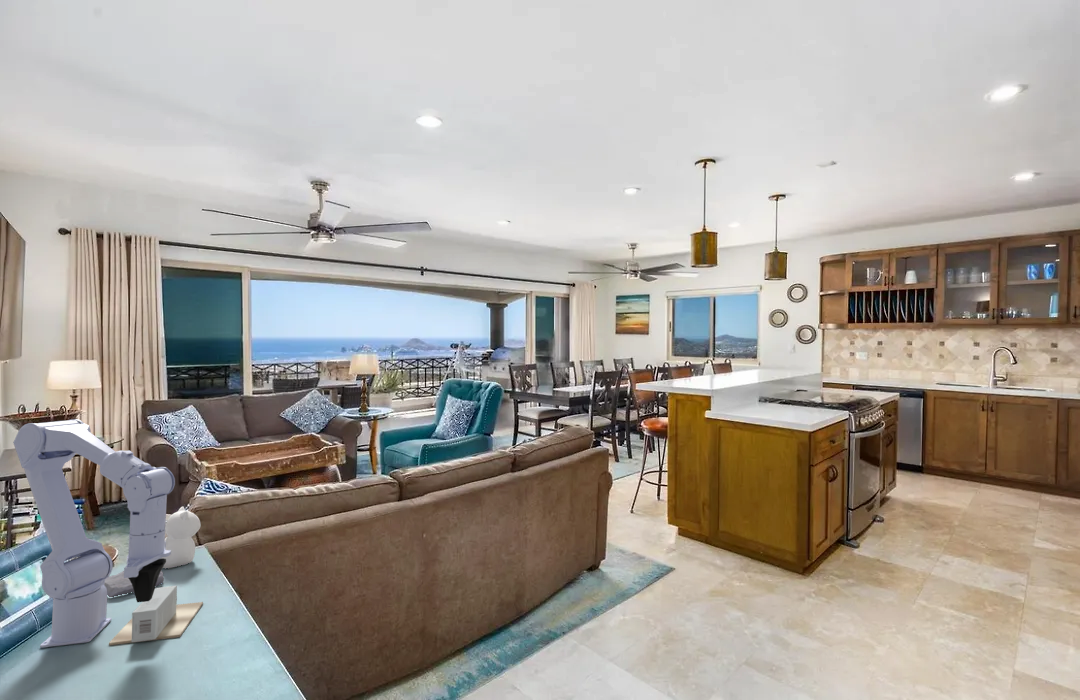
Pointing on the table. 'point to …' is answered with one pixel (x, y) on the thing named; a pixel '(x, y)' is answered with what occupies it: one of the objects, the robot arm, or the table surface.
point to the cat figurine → (180, 537)
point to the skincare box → (154, 614)
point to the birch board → (171, 629)
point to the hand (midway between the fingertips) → (144, 600)
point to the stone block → (123, 584)
